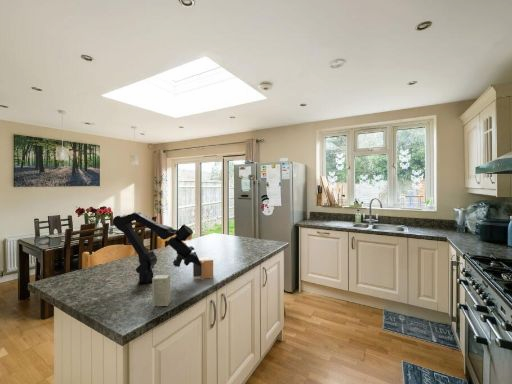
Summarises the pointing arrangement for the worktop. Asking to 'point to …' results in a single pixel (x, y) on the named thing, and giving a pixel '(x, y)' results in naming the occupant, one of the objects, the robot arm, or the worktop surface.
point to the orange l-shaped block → (206, 269)
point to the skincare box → (161, 290)
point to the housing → (198, 268)
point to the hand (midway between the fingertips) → (200, 265)
